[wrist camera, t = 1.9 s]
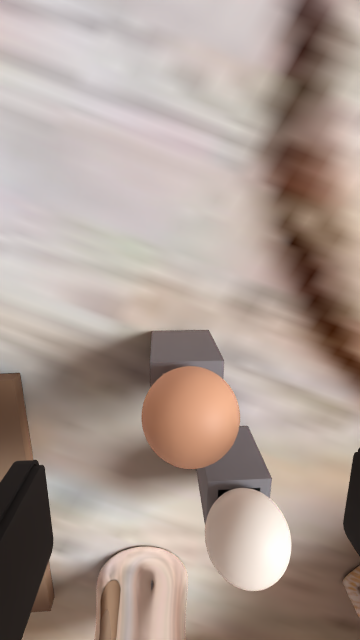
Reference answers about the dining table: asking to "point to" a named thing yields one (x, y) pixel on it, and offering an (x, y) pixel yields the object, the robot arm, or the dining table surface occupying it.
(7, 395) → the rack board
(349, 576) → the decorative jar
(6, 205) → the dining table surface
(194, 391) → the terracotta ball
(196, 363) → the stand
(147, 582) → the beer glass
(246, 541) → the ivory ball
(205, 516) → the stand
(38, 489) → the robot arm
